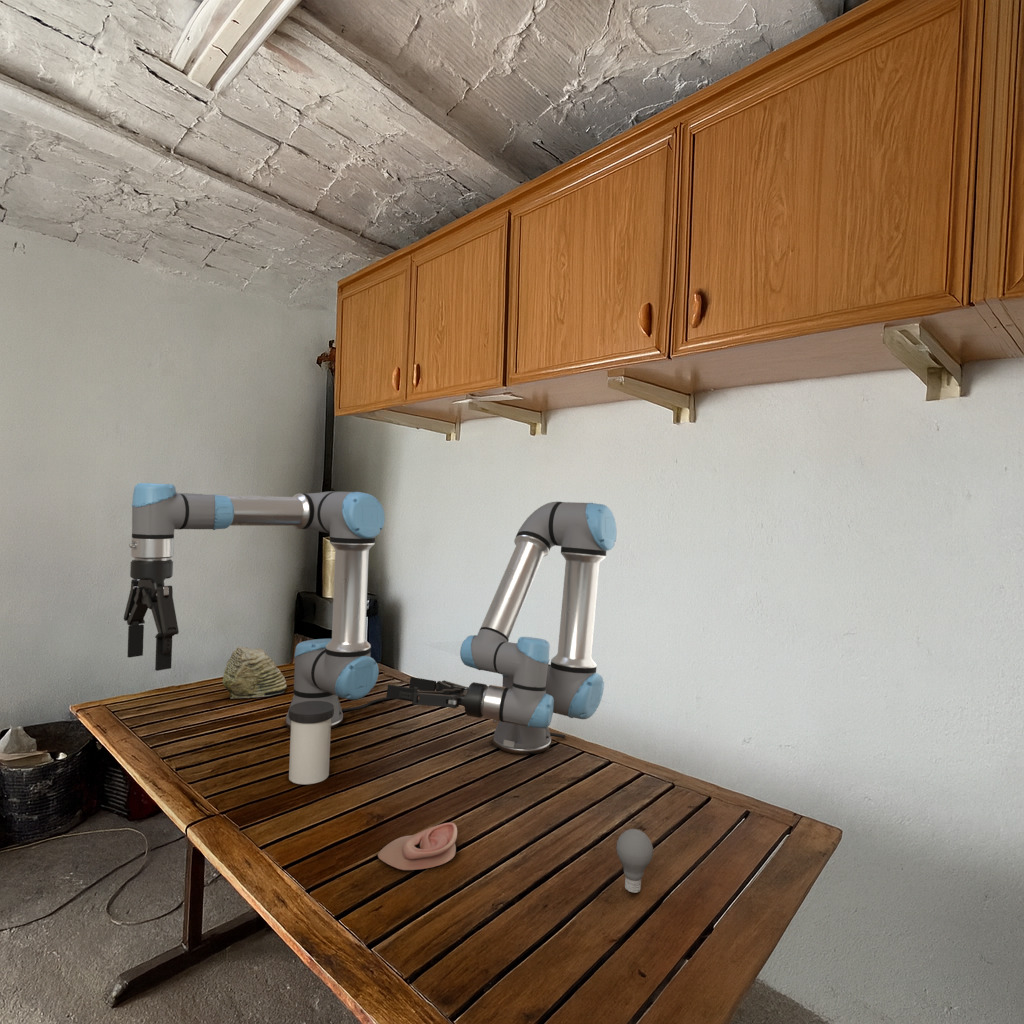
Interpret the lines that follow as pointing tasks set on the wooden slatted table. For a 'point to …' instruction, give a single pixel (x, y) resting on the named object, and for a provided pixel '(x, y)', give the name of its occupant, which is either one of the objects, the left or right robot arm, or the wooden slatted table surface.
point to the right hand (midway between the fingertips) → (399, 686)
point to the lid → (311, 712)
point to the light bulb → (634, 857)
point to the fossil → (252, 674)
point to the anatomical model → (422, 848)
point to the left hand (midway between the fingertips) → (148, 662)
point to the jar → (309, 752)
